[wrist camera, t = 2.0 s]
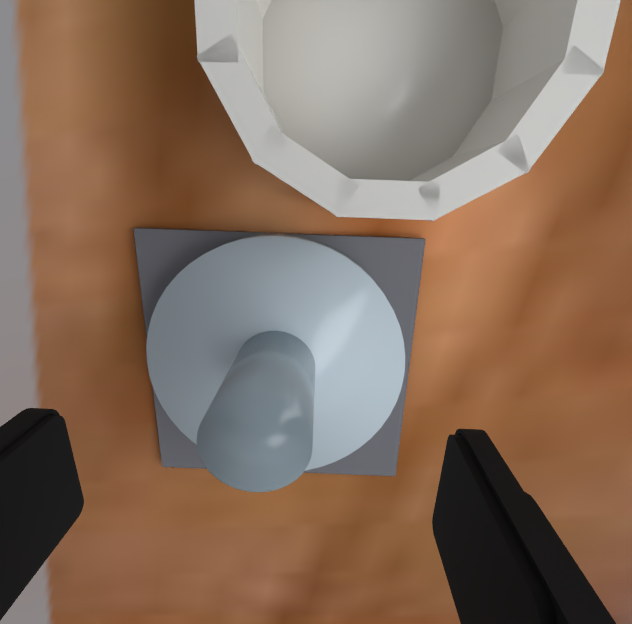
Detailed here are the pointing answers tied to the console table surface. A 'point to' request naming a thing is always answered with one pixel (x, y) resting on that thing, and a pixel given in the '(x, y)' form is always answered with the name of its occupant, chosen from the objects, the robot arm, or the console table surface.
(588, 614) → the robot arm
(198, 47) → the bowl
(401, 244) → the mat
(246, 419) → the lid
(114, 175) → the console table surface
